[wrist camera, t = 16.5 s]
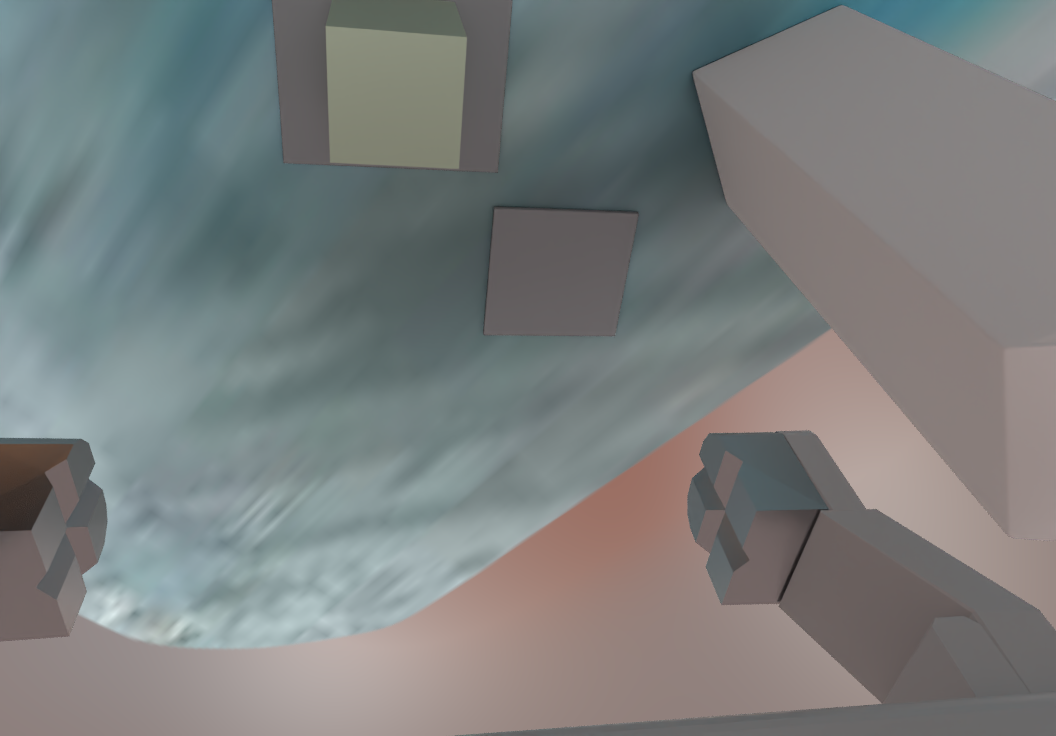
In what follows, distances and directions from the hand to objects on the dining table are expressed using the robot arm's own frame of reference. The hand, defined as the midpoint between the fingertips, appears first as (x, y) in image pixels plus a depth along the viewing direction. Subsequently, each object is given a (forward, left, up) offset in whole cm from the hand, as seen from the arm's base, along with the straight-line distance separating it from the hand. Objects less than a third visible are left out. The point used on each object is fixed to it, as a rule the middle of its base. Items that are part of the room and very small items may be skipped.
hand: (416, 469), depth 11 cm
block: (0, 0, -21) cm, 21 cm away
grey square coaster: (-7, +9, -22) cm, 24 cm away
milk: (-15, +1, -22) cm, 26 cm away
